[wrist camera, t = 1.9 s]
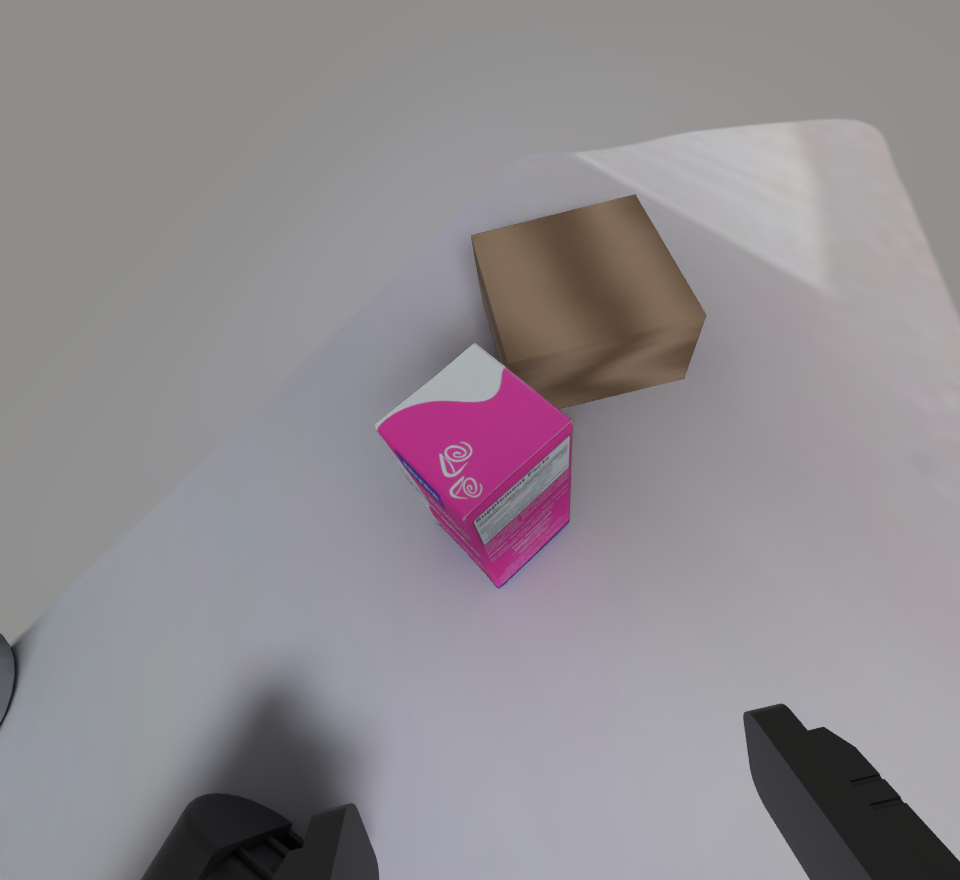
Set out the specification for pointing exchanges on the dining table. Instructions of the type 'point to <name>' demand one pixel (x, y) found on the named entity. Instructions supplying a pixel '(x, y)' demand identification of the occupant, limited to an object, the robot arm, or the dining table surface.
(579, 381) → the walnut block
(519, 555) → the supplement box
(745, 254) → the dining table surface
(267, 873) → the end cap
